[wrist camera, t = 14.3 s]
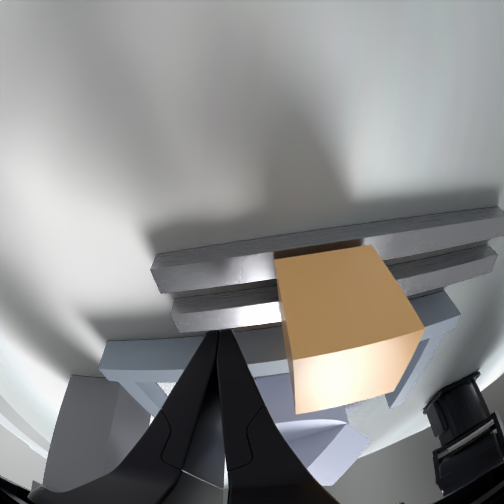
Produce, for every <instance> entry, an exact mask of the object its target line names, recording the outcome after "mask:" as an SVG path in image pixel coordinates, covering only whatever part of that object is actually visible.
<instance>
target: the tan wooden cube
mask: <svg viewBox="0 0 504 504" xmlns="http://www.w3.org/2000/svg"><path fill="white" fill-rule="evenodd" d="M274 262H275V270H276V279H277V287H278V296H279V305H280V314H281V323H282V331H283V337H284V343H285V349H286V355H287V361H288V367H289V374H290V380H291V386H292V393H293V399H294V406H295V412H296V414H302V413H308V412H314V411H319V410H324V409H329V408H334V407H338V406H342V405H347V404H351V403H355V402H359V401H362V400H366V399H370V398H373V397H377V396H380V395H383V394H387V393H390V392H393V391H394V390H395V388H396V386H397V384H398V383H399V381H400V379H401V377H402V375H403V374H404V372H405V370H406V368H407V366H408V364H409V362H410V360H411V358H412V356H413V354H414V352H415V350H416V348H417V346H418V344H419V342H420V339H421V337H422V335H423V333H424V330H425V327H424V325H423V324H422V322H421V320H420V318H419V317H418V315H417V313H416V312H415V310H414V308H413V307H412V305H411V303H410V302H409V300H408V299H407V297H406V295H405V294H404V292H403V291H402V289H401V287H400V286H399V284H398V283H397V281H396V280H395V278H394V277H393V275H392V274H391V272H390V271H389V269H388V268H387V266H386V265H385V263H384V262H383V260H382V259H381V257H380V256H379V254H378V253H377V252H376V250H375V249H374V247H373V246H372V245H365V246H359V247H353V248H346V249H340V250H333V251H327V252H321V253H314V254H308V255H301V256H294V257H288V258H281V259H274Z"/></svg>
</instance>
